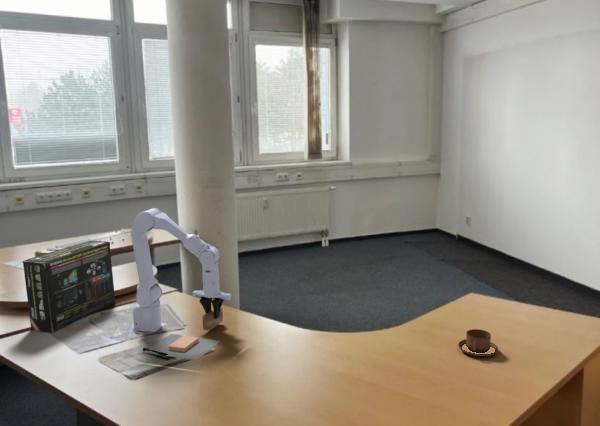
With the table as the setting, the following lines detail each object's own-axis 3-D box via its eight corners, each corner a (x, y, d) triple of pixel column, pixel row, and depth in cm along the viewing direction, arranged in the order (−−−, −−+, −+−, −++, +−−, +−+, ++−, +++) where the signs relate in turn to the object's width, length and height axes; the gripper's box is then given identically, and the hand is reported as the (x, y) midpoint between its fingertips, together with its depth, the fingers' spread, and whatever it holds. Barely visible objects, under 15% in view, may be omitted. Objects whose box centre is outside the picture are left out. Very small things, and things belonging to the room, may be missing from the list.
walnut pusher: (203, 329, 186) (202, 316, 185) (216, 320, 196) (216, 307, 195) (209, 330, 185) (208, 316, 185) (222, 320, 195) (222, 307, 194)
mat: (143, 353, 172) (142, 352, 172) (170, 335, 187) (170, 334, 186) (196, 361, 165) (196, 360, 165) (221, 342, 180) (221, 340, 180)
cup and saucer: (500, 361, 162) (501, 342, 161) (460, 358, 164) (460, 339, 163) (494, 345, 173) (495, 327, 172) (456, 343, 176) (457, 325, 175)
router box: (95, 300, 227) (90, 239, 223) (116, 302, 223) (112, 241, 219) (27, 330, 194) (20, 260, 190) (51, 334, 190) (43, 262, 186)
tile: (183, 339, 181) (168, 349, 173) (183, 335, 181) (168, 346, 173) (198, 341, 179) (184, 352, 171) (198, 337, 179) (184, 348, 171)
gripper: (234, 279, 189) (235, 315, 191) (199, 276, 194) (201, 311, 196) (225, 285, 183) (226, 322, 185) (188, 281, 187) (190, 318, 190)
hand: (212, 317), depth 190 cm, fingers closed on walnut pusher, 2 cm apart
